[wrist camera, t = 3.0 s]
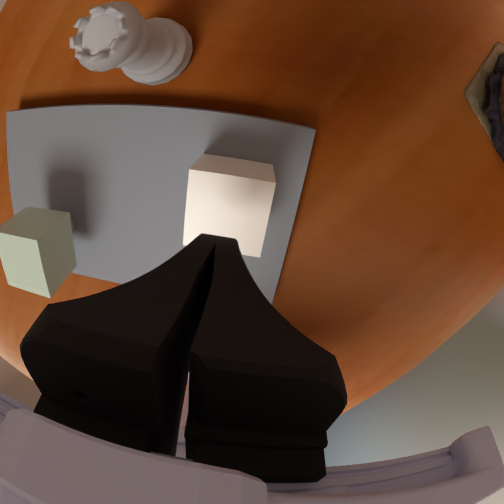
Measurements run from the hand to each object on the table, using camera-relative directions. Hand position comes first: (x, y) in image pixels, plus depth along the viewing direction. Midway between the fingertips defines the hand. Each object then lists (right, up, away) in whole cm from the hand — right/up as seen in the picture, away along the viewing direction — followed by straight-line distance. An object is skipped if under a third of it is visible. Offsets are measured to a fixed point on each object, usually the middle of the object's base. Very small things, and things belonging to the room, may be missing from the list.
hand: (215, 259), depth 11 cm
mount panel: (-7, +4, +9) cm, 12 cm away
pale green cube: (-12, +1, +6) cm, 14 cm away
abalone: (+22, +12, +4) cm, 26 cm away
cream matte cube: (0, +4, +7) cm, 8 cm away
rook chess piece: (-4, +13, +4) cm, 14 cm away
